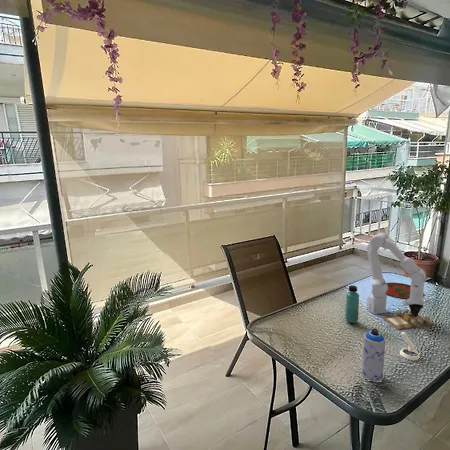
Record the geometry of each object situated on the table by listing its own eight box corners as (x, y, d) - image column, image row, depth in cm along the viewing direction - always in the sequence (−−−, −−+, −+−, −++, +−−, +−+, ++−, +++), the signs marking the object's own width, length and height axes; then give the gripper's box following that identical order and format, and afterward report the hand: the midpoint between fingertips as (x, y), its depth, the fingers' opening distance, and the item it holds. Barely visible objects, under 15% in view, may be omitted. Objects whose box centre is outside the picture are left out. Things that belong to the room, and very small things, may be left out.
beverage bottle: (350, 326, 157) (351, 289, 153) (342, 320, 163) (343, 285, 159) (360, 324, 159) (362, 288, 155) (352, 318, 165) (354, 283, 161)
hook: (388, 335, 139) (403, 328, 137) (404, 359, 136) (419, 353, 134) (390, 340, 132) (405, 333, 130) (407, 366, 129) (423, 360, 127)
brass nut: (416, 321, 158) (416, 316, 157) (409, 322, 157) (409, 317, 157) (408, 316, 163) (409, 312, 162) (401, 317, 162) (402, 313, 161)
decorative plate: (409, 282, 207) (432, 298, 183) (409, 283, 208) (432, 299, 183) (372, 282, 209) (390, 298, 184) (372, 284, 209) (390, 300, 184)
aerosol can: (369, 367, 126) (372, 322, 122) (387, 378, 119) (391, 331, 115) (356, 373, 122) (359, 328, 118) (374, 385, 115) (377, 337, 111)
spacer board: (398, 329, 152) (399, 323, 151) (381, 317, 164) (381, 311, 164) (433, 324, 156) (433, 318, 155) (413, 313, 168) (414, 307, 167)
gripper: (410, 297, 152) (408, 321, 155) (435, 293, 155) (432, 318, 158) (399, 291, 159) (397, 315, 162) (423, 288, 162) (421, 312, 165)
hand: (414, 316), depth 160 cm, fingers closed
